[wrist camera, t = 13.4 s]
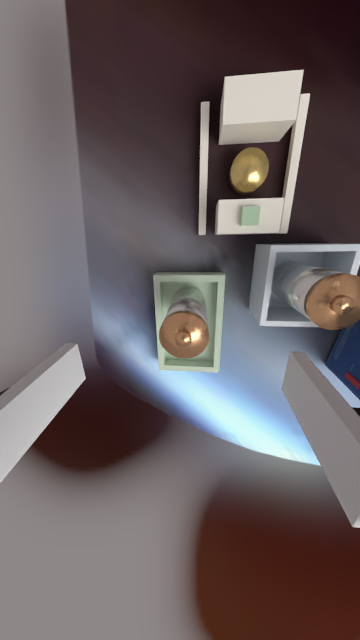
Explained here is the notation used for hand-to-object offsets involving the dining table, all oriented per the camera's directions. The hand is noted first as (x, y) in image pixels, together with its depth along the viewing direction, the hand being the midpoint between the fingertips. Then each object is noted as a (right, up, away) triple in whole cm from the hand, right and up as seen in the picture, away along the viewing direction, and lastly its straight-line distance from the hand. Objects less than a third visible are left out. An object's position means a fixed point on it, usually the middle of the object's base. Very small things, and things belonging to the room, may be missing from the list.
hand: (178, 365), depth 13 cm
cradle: (+7, +18, +9) cm, 22 cm away
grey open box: (+13, +8, +12) cm, 20 cm away
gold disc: (+7, +18, +9) cm, 21 cm away
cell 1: (+1, +5, +14) cm, 15 cm away
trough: (+1, +3, +16) cm, 16 cm away
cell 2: (+13, +8, +12) cm, 19 cm away
